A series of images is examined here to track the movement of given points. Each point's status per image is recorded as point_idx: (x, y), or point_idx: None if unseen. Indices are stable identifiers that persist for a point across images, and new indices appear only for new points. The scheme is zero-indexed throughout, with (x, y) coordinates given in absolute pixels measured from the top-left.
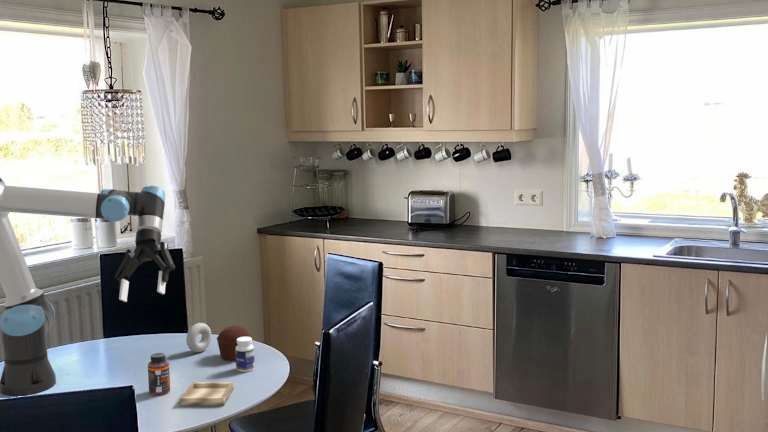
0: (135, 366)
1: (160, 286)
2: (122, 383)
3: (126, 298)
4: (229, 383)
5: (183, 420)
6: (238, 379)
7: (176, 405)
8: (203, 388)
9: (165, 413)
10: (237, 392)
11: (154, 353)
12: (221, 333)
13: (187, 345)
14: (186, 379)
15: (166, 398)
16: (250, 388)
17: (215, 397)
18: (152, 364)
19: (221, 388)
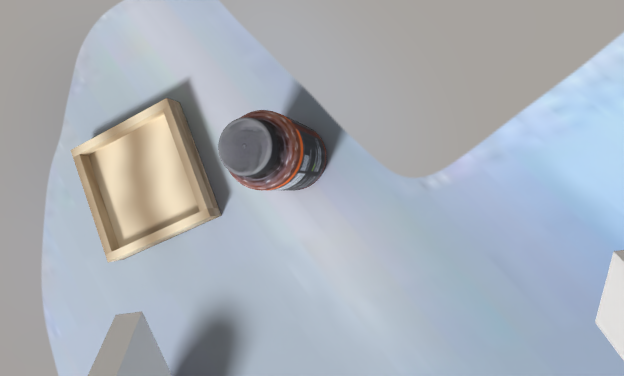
0: (572, 341)
1: (99, 371)
2: (475, 171)
3: (615, 340)
4: (113, 251)
5: (120, 34)
6: None
7: (191, 100)
8: (178, 214)
9: (184, 45)
10: None
11: (269, 155)
12: None
13: None
14: (291, 283)
15: None
16: (90, 282)
17: (89, 144)
18: (257, 116)
19: (135, 233)
